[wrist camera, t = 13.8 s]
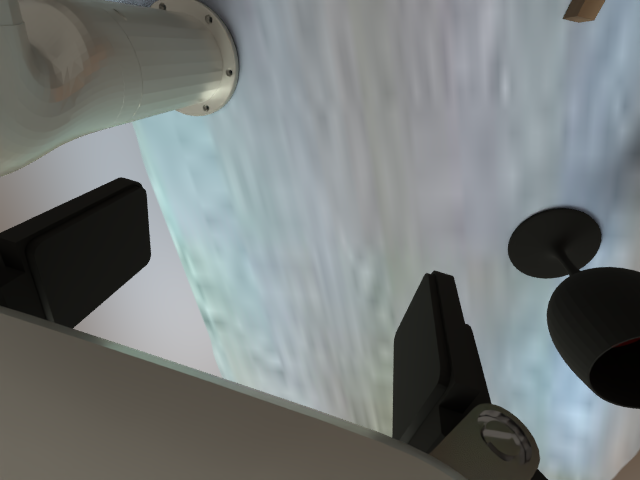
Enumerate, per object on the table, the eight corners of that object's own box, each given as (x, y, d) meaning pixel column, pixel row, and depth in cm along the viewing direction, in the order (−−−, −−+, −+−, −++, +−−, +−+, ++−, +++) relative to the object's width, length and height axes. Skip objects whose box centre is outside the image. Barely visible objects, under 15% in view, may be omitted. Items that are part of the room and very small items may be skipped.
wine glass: (523, 202, 41) (612, 312, 24) (617, 213, 39) (784, 338, 22) (496, 271, 46) (554, 400, 29) (578, 282, 44) (689, 427, 28)
